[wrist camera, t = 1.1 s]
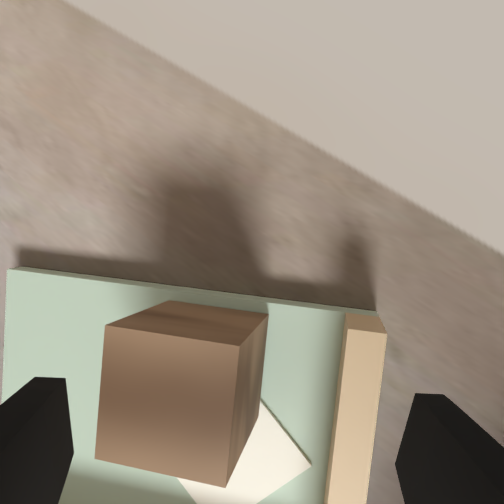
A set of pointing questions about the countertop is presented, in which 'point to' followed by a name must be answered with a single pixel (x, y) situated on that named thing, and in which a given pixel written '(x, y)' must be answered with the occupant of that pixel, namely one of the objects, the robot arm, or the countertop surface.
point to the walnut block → (181, 389)
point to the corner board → (271, 401)
